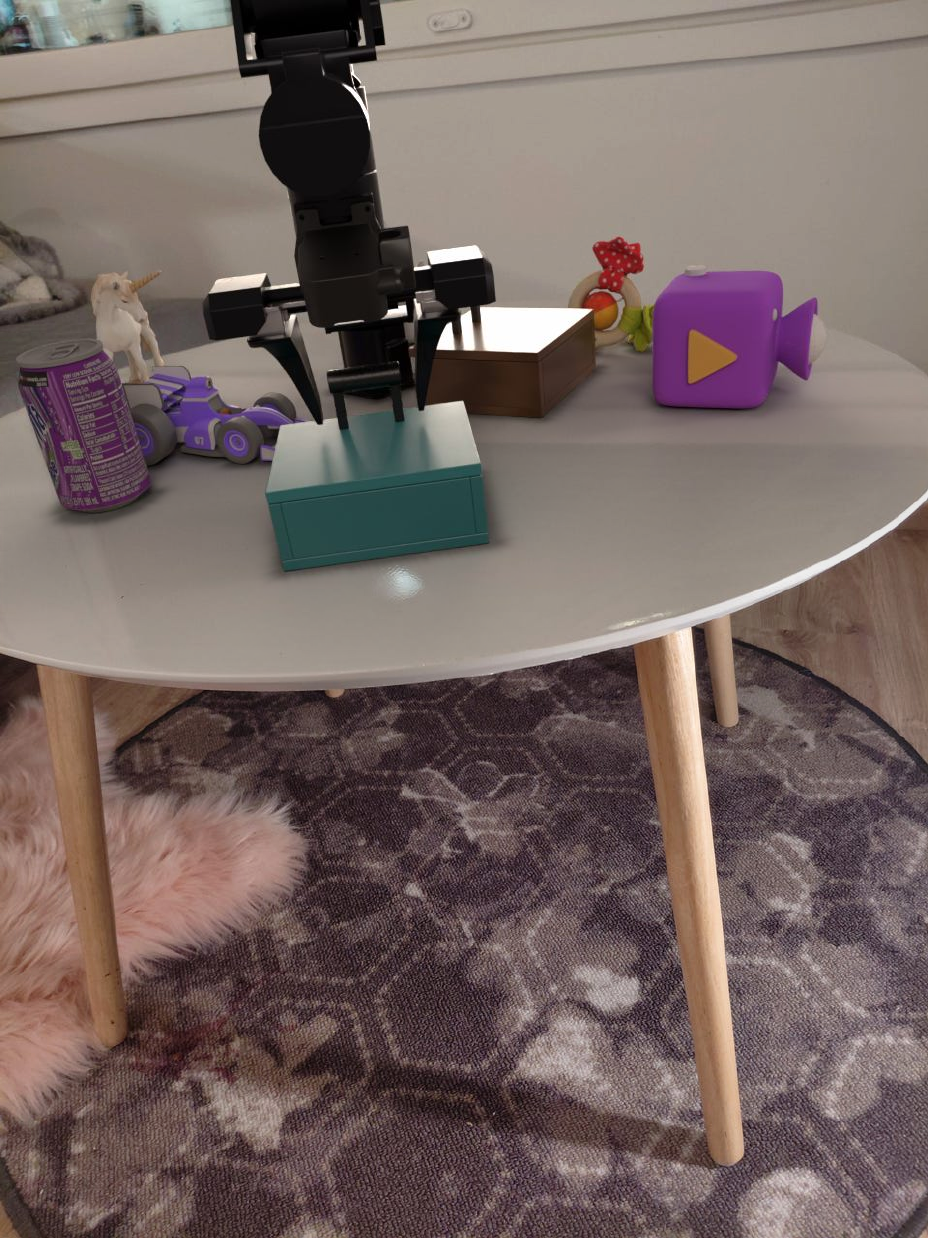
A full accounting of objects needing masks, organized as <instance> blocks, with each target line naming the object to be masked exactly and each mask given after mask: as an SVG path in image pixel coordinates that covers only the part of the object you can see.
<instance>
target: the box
mask: <svg viewBox="0 0 928 1238" xmlns="http://www.w3.org/2000/svg"><path fill="white" fill-rule="evenodd" d="M596 359H597V355H596V350H595V325H594V318H593V319H592V320H590V321H589V322H588V323H587V324H585V325H584V326H583V327H582V328H580V329H579V330H578V331H577V332H575V333H574V334H573V335H572V336H570V337H569V338H568V339H566V340H565V341H564V342H563V343H561V344H560V345H559V346H558V347H556V348H555V349H554V350H553V351H551V352H550V353H549V354H548V355H546V356H545V357H544V358H543V359H541V360H540V361H539V362H520V361H494V360H468V359H442V358H434V360H433V365H432V371H431V376H430V381H429V387H428V392H427V398H426V403H425V406H428V405H436V404H443V403H450V402H458V401H464V405H465V408H466V412H467V414H473V415H474V414H476V415H491V416H492V415H493V416H506V417H520V418H521V417H522V418H536V419H542V418H544V417H545V416H546V415H547V414H548V413H549V412H550V411H552V410H553V408H554V407H556V406H557V405H558V404H559V403H560V402H561V401H562V400H563V399H564V398H566V397H567V396H568V395H569V394H570V393H571V392H572V391H573V390H574V389H575V388H576V387H577V386H579V384H581V383H582V382H583V381H584V380H585V379H586V378H587V377H589V375H590V374H592V372H594V371H595V370H596V369H597V361H596Z"/></svg>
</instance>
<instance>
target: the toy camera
mask: <svg viewBox="0 0 928 1238" xmlns="http://www.w3.org/2000/svg"><path fill="white" fill-rule="evenodd" d="M654 303H655V305H654V309H653V326H652V342H651V345H652V350H651V351H652V391H653V396H654V398H655V401H656V402H658V403H659V404H661V405H664V406H668V407H669V406H670V407H679V408H681V407H684V408H707V409H709V408H710V409H711V408H713V409H714V408H715V409H751V408H752V409H753V408H756V407H758V406H760V405H762V404H763V402H764V401H765V400H766V399H767V397H768V395H769V393H770V390H771V388H772V386H773V383H774V380H775V378H776V375H777V372H778V366H779V363H780V364H782V365H784V366H785V368H787V369H788V370H789V371H791V372H792V373H793V374H794V375H796V376H797V377H799V378H800V379H802V380H803V381H808V380H809V379H810V377H811V374H812V366H813V364H814V363H815V362H816V361H817V360H818V359H819V358H820V357H821V356H822V353H823V352H824V350H825V348H826V344H827V329H826V326H825V323H824V321H823V320H822V318H821V317H820V316H818V311H819V310H818V308H819V307H818V306H819V305H818V298H817V297H812V298H810V299H808V300H806V301H805V302H803V303H802V304H800V305H798V306H797V307H796V308H794V309H793V310H791V311H790V312H789V313H787V314H785V315H783V309H784V308H783V305H784V284H783V280H782V278H781V276H780V275H779V274H778V273H777V272H774V271H770V270H721V271H720V270H717V271H716V270H715V271H714V270H713V271H707V266H705V265H701V264H697V265H689V266H686V267H685V269H684V273H681V274H678V275H677V276H675V277H674V278H673V279H672V280H671V281H670V282H669V284H668V285H666V287H665V288H664V289H663V290H662V291H661V293H660V294H659V295H658V297H657V298H656V299H655V302H654Z"/></svg>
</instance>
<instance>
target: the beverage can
mask: <svg viewBox="0 0 928 1238" xmlns="http://www.w3.org/2000/svg"><path fill="white" fill-rule="evenodd" d="M103 348H104V347H103V343H102V341H100V340H97V338H77V339H76V338H75V339H69V340H68V339H67V340H62V341H57V342H52V343H47V344H43V345H39V346H37V347H34V348H31V349H29V350H26V351H24V352H22V353H21V354H18V355H17V356H16V358H15V363H16V364H17V366H18V367H19V372H18V373H19V374H18V379H17V380H18V381H17V387H18V390H19V393H20V395H21V399H22V401H23V404H24V407H25V409H26V413H27V415H28V418H29V420H30V423H31V427H32V429H33V432H34V434H35V438H36V440H37V443H38V446H39V448H40V451H41V455H42V456H43V459H44V463H45V465H46V468H47V470H48V471H47V472H48V473H49V476H50V480H51V481H52V485H53V488H54V490H55V493H56V495H57V499H58V501H59V504H60V505H61V506H62V507H63V508H66V509H67V510H68V509H69V510H74V511H80V512H83V513H89V514H91V513H92V514H96V513H105V512H109V511H113V510H116V509H119V508H123V507H125V506H127V505H129V504H131V503H132V502H134V501H135V500H137V499H138V498H139V497H140V495H142V494H143V493H144V492H145V491H147V490H148V489H149V488H150V486H151V485H152V479H151V475H150V472H149V469H148V466H147V465H146V462H145V459H144V456H143V452H142V449H141V446H140V442H139V439H138V436H137V433H136V429H135V426H134V423H133V420H132V416H131V413H130V410H129V406H128V403H127V400H126V397H125V393H124V390H123V387H122V383H123V382H122V380H121V378H120V374H119V371H118V368H117V365H116V363H115V362H114V360H113V361H112V360H111V358H110V357H109V356H108V355H107V354H106V353H105V352H104V350H103Z"/></svg>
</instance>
